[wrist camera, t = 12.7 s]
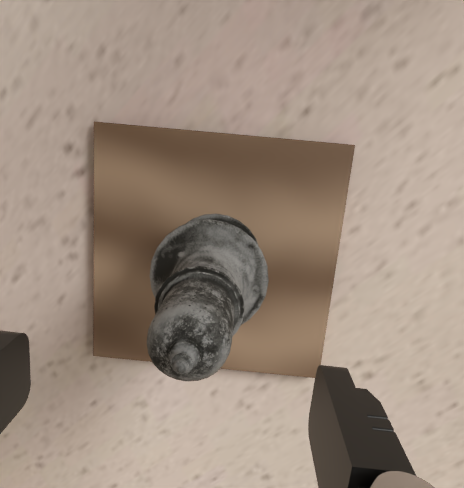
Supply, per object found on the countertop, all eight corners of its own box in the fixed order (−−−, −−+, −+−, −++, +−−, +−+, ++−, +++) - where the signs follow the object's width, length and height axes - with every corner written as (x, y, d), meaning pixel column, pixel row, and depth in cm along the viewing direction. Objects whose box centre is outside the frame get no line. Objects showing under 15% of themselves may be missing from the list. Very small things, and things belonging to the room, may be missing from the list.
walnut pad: (99, 122, 23) (94, 121, 22) (351, 145, 23) (354, 144, 22) (97, 349, 26) (93, 355, 25) (316, 371, 26) (318, 378, 25)
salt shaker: (275, 295, 24) (298, 439, 12) (178, 315, 25) (113, 470, 13) (253, 197, 23) (256, 254, 11) (152, 220, 23) (53, 298, 12)
